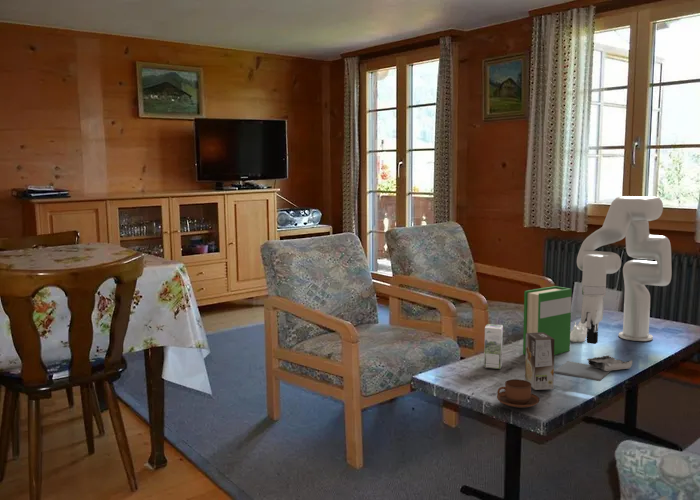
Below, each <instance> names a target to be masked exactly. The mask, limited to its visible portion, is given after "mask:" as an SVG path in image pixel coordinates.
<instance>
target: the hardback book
mask: <svg viewBox="0 0 700 500" xmlns="http://www.w3.org/2000/svg"><path fill="white" fill-rule="evenodd" d="M572 291H573V289H572V288H569V287H564V286H563V287H562V286H557V285H553V286H549V287H540V288H533V289H528V290H524V291H523V292H524V294H523V299H524V300H523V302H524V303H523V332H522V333H523V337H522V338H523V339H522V355H523V354H524V356H525V355H526V333H536V332H544V333H546V334H547V335H549V336H550V337H552V338H554V339H555V345H554V356H557V355H560V354H564V353H567V352H570V350H571V346H570V345H571V340H570V332H571V322H572V319H571V318H572V295H573V292H572Z"/></svg>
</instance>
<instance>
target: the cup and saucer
mask: <svg viewBox="0 0 700 500" xmlns="http://www.w3.org/2000/svg"><path fill="white" fill-rule="evenodd" d="M504 383H505V384H504V386H500V387H499V388H498V389H497V395H496V399H497V400H498V401H499V402H500V403H501V404H502V405H505V406H509V407H511V408H519V409H520V408H521V409H526V408H532V407H533V406H536V405H537V404H539V403H540V397H539V396H538V395H537V394H534V393H532V387H531V383H530V382H528V381H525V379H517V378H514V379H512V378H511V379H508V380H506V381H505V382H504ZM501 390H504V391H501ZM500 391H501V392H500Z"/></svg>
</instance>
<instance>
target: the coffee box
mask: <svg viewBox="0 0 700 500" xmlns="http://www.w3.org/2000/svg"><path fill="white" fill-rule="evenodd" d="M554 345H555V339H554V338H552V337H550V336H549V335H547V334H546V333H544V332H536V333H526V355H524V356H525V361H524V363H525V367H524V368H525V370H524V374H525V375H524V380H525V381H528V382H530V383H531V389H533V390H534V391H537V390H539V391H540V390H554V377H555V373H554V371H555V355H554Z"/></svg>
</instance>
